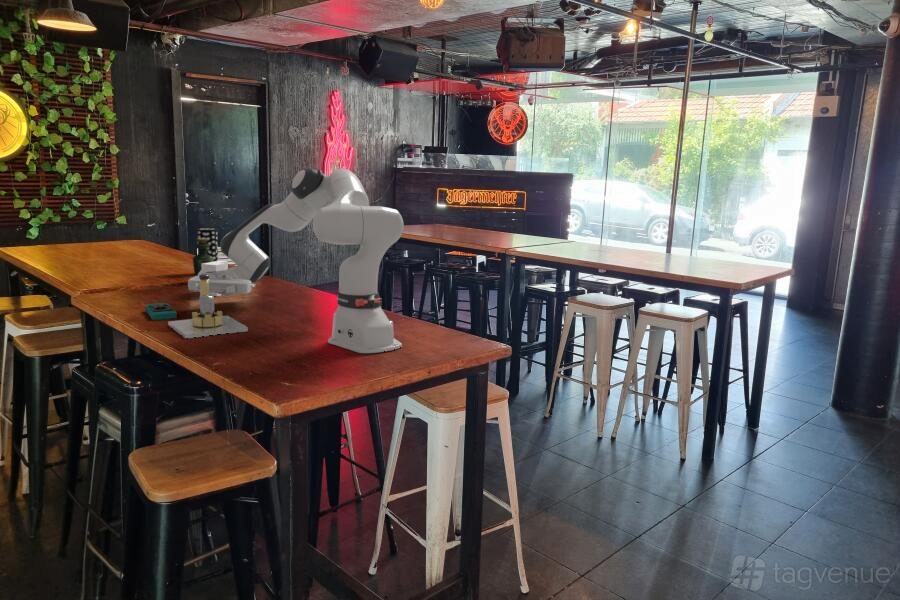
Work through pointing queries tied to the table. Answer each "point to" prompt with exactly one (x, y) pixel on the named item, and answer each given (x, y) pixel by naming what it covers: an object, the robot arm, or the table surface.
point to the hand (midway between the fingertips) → (210, 289)
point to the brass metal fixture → (208, 319)
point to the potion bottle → (201, 255)
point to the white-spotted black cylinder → (209, 241)
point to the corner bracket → (214, 267)
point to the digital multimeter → (160, 311)
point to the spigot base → (193, 331)
